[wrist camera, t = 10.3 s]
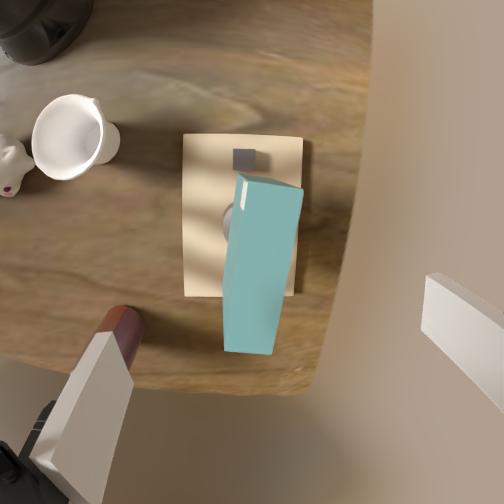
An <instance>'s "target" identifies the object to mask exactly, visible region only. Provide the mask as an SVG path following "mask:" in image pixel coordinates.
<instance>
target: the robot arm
mask: <svg viewBox="0 0 504 504" xmlns="http://www.w3.org/2000/svg"><path fill="white" fill-rule="evenodd" d="M92 5H93V0H0V46H1V47H2V49H3V51H4V53H5V54H6V56H7V57H8V58H10V59H11V60H13V61H15V62H17V63H20V64H23V65H36V64H40V63H43V62H45V61H47V60H49V59H51V58H53V57H55V56H56V55H58V54H59V53H60V52H62V51H63V50H64V49H65V48H66V47H68V46H69V45H70V44H71V43H72V42H73V40H74V39H75V38H76V37H77V36H78V35H79V33H80V32H81V30H82V29H83V27H84V26H85V24H86V22H87V20H88V18H89V16H90V13H91V10H92ZM421 330H422V331H423V332H424V333H425V334H426V335H427V336H428V337H429V338H430V339H431V340H432V341H433V342H434V343H435V344H436V345H437V346H438V347H439V348H440V349H441V350H442V351H443V352H444V353H445V354H446V355H447V356H448V357H449V358H451V360H452V361H453V362H455V363H456V365H458V367H459V368H461V370H462V371H463V372H464V373H465V374H466V375H467V376H468V377H469V378H471V380H472V381H473V382H474V383H475V384H476V385H477V386H478V387H479V388H480V389H481V390H482V391H483V392H484V393H485V394H486V395H487V396H488V397H489V398H490V400H491V401H492V402H493V403H494V404H495V405H496V406H497V407H498V408H499V409H500V410H501V411H502V412H503V413H504V313H503V312H501V311H500V310H498V309H497V308H495V307H494V306H492V305H491V304H489V303H488V302H486V301H484V300H483V299H482V298H480V297H478V296H477V295H475V294H474V293H472V292H471V291H469V290H468V289H466V288H464V287H463V286H461V285H459V284H458V283H456V282H455V281H453V280H452V279H450V278H448V277H447V276H445V275H443V274H442V273H440V272H437V273H433V274H429V275H426V283H425V295H424V305H423V315H422V323H421ZM133 386H134V383H133V381H132V378H131V376H130V374H129V371H128V369H127V367H126V364H125V362H124V359H123V357H122V354H121V352H120V349H119V347H118V344H117V342H116V339H115V336H114V334H113V331H111V332H101V333H96V334H95V336H94V338H93V339H92V341H91V342H90V344H89V346H88V347H87V349H86V351H85V352H84V354H83V356H82V358H81V359H80V361H79V363H78V364H77V366H76V368H75V370H74V371H73V373H72V375H71V377H70V378H69V380H68V382H67V384H66V386H65V387H64V389H63V391H62V393H61V395H60V397H59V398H58V400H57V401H51V402H50V403H49V404H48V405H47V406H46V407H45V408H44V409H43V410H42V412H41V414H40V416H39V418H38V419H37V422H36V423H35V425H34V427H33V430H32V431H31V432H30V435H29V436H28V438H27V440H26V442H25V444H24V446H23V448H22V450H21V452H20V454H19V456H18V457H17V456H16V454H15V453H14V452H13V451H12V449H11V448H10V447H9V446H8V445H7V443H5V442H3V441H0V504H68V502H69V500H70V501H71V502H72V503H73V504H101V503H102V499H103V495H104V491H105V486H106V482H107V478H108V474H109V470H110V466H111V462H112V459H113V455H114V451H115V447H116V444H117V440H118V436H119V433H120V429H121V426H122V422H123V419H124V416H125V412H126V408H127V405H128V402H129V399H130V396H131V392H132V389H133Z"/></svg>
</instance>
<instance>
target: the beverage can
mask: <svg viewBox="0 0 504 504" xmlns="http://www.w3.org/2000/svg"><path fill="white" fill-rule="evenodd" d="M111 331H113V334H114V336H115V339H116V342H117V344H118V347H119V349H120V352H121V354H122V357H123V359H124V362H125V364H126V367H127V369H128V371H130V368H131V366H132V363H133V360H134V358H135V355H136V353H137V350H138V347H139V345H140V342H141V340H142V337H143V335H144V332H145V324H144V321H143V319H142V317H141V316H140V314H139V313H138V312H137V311H135V310H134V309H132V308H130V307H127V306H116V307H113V308H112V309H110V310H109V311H108V313H107V314H106V316H105V317H104V319H103V320H102V322H101V323H100V325H99V326H98V328H97V329H96V331H95V332H94V334H93V336H92V337H91V339H90V340H89V342H88V343H87V345H86V346H85V348H84V350H83V351H82V353H81V354H80V356H79V358H78V359H77V361H76V363H75V364H74V366H73V368H72V371H71V374H70V377H71V375H72V373H73V371H74V370H75V368H76V366H77V364H78V363H79V361H80V359H81V358H82V356H83V354H84V352H85V351H86V349H87V347H88V346H89V344H90V342H91V341H92V339H93V338H94V336H95V334H96V333H101V332H111Z"/></svg>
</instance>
